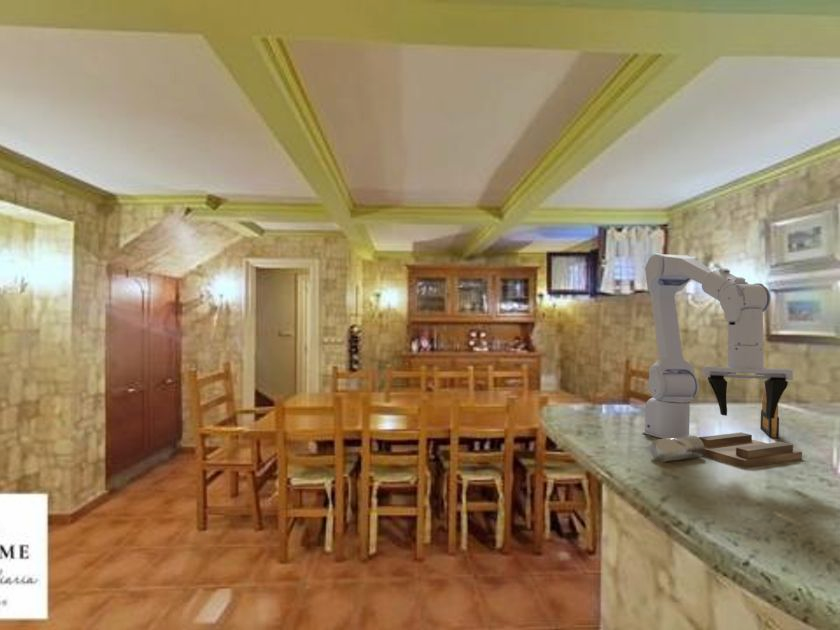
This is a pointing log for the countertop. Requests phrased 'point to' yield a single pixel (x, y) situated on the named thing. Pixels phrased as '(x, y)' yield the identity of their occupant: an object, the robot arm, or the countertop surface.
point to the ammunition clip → (769, 421)
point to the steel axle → (677, 448)
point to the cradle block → (747, 450)
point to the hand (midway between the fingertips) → (746, 416)
